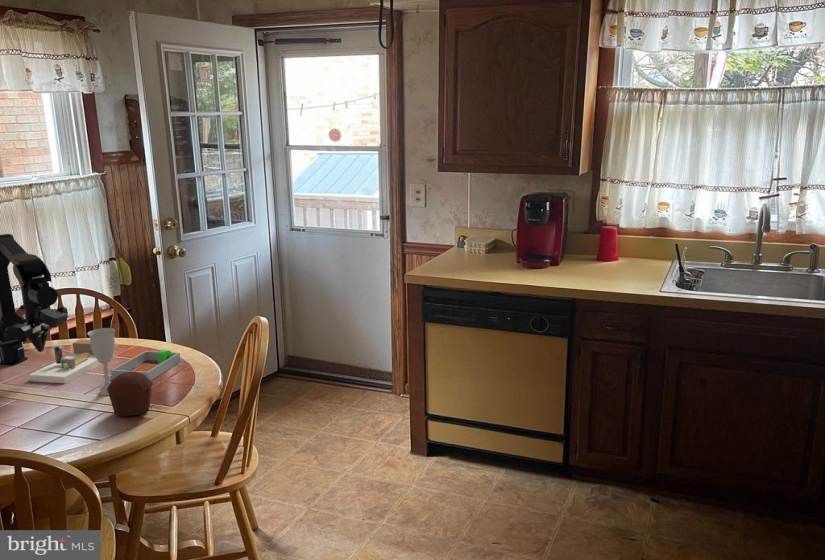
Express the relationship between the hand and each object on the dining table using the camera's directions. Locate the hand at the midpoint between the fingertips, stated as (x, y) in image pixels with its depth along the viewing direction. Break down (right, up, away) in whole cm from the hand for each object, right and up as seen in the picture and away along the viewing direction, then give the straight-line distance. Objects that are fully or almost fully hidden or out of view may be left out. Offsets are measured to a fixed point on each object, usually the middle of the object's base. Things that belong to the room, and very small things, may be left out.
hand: (40, 351), depth 202 cm
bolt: (+4, -4, +10) cm, 11 cm away
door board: (+5, -7, +11) cm, 13 cm away
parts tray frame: (+28, -7, +8) cm, 30 cm away
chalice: (+24, -11, -9) cm, 28 cm away
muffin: (+36, -13, -21) cm, 44 cm away
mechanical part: (+35, -8, +14) cm, 39 cm away
